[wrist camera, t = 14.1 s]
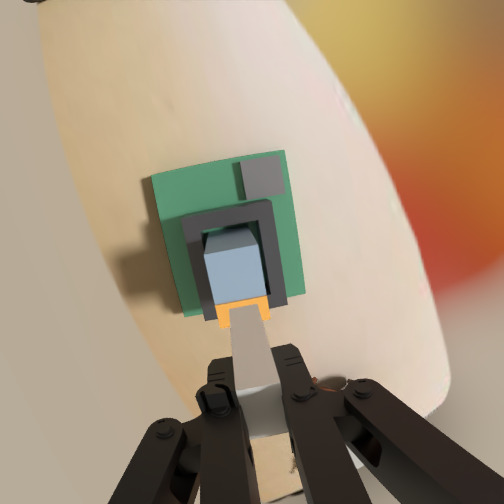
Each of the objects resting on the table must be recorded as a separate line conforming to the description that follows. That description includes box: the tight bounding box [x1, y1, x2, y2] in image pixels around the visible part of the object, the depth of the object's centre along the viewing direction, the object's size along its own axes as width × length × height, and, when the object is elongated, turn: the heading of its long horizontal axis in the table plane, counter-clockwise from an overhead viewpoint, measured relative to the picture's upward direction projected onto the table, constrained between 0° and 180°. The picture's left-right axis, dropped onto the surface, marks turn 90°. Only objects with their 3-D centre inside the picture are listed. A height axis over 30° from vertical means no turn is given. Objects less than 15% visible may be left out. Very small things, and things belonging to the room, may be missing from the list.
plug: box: [204, 225, 271, 329], centre depth 27 cm, size 6×4×10 cm, turn 10°
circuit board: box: [151, 150, 306, 321], centre depth 31 cm, size 16×14×5 cm
